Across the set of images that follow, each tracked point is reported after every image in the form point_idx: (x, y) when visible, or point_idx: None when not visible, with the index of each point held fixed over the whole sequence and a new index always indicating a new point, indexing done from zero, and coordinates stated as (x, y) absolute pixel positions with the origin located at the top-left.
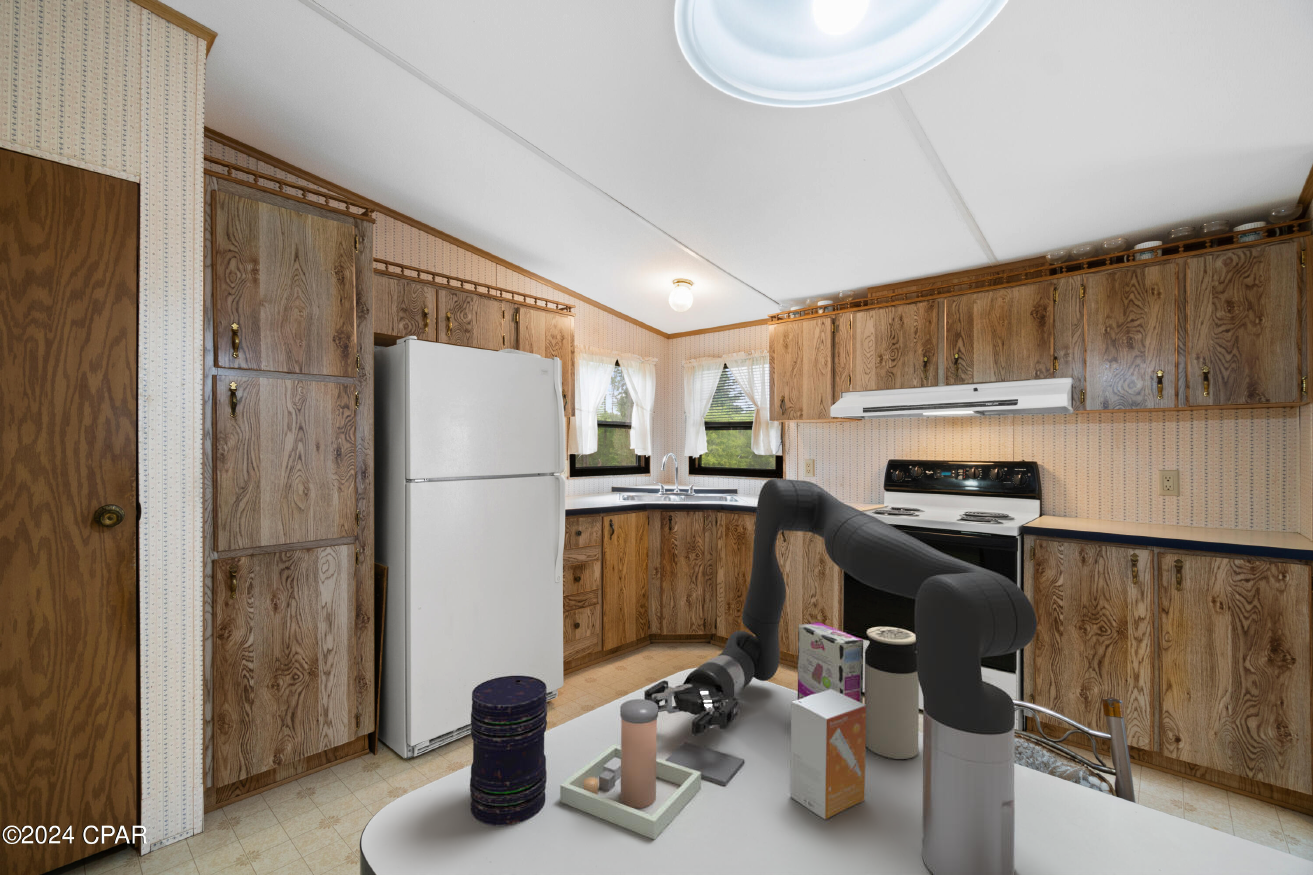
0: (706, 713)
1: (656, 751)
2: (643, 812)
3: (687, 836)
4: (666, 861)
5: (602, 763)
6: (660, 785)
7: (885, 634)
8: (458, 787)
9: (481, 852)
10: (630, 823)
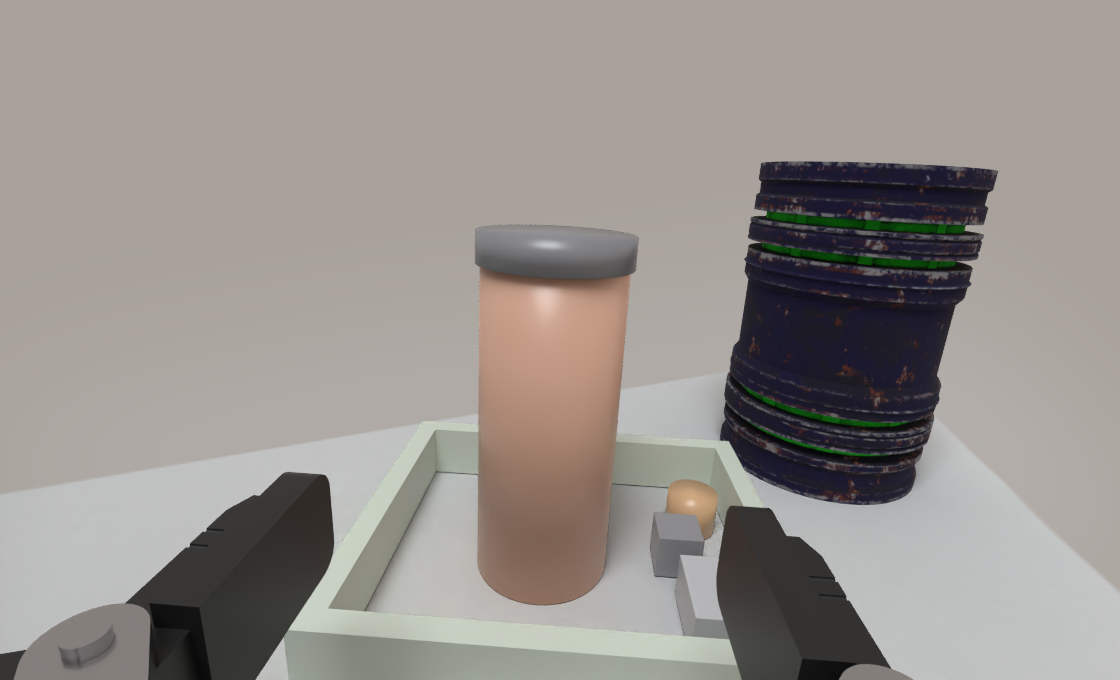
0: (165, 594)
1: (482, 416)
2: (462, 430)
3: (338, 487)
4: (380, 435)
5: None
6: None
7: None
8: (953, 455)
9: (700, 389)
10: None
